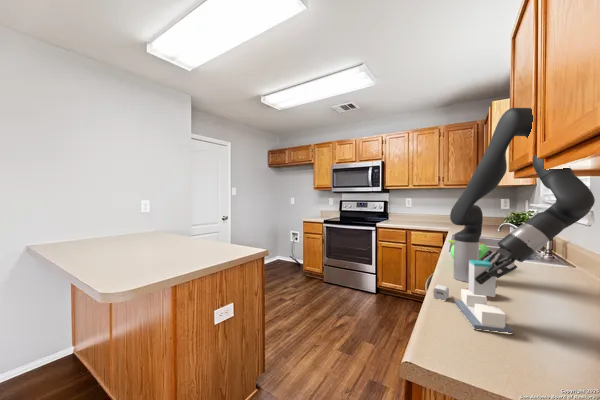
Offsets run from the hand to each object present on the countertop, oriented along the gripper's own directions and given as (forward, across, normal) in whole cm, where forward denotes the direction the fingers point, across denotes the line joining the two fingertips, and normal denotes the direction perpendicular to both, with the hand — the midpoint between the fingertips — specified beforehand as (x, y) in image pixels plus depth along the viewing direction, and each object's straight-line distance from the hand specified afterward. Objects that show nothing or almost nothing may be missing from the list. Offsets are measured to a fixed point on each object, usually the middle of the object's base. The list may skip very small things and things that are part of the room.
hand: (474, 279), depth 77 cm
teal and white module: (+2, 0, +4) cm, 5 cm away
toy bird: (-5, -61, +21) cm, 65 cm away
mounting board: (+7, 0, +10) cm, 12 cm away
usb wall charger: (+12, -14, +5) cm, 19 cm away
